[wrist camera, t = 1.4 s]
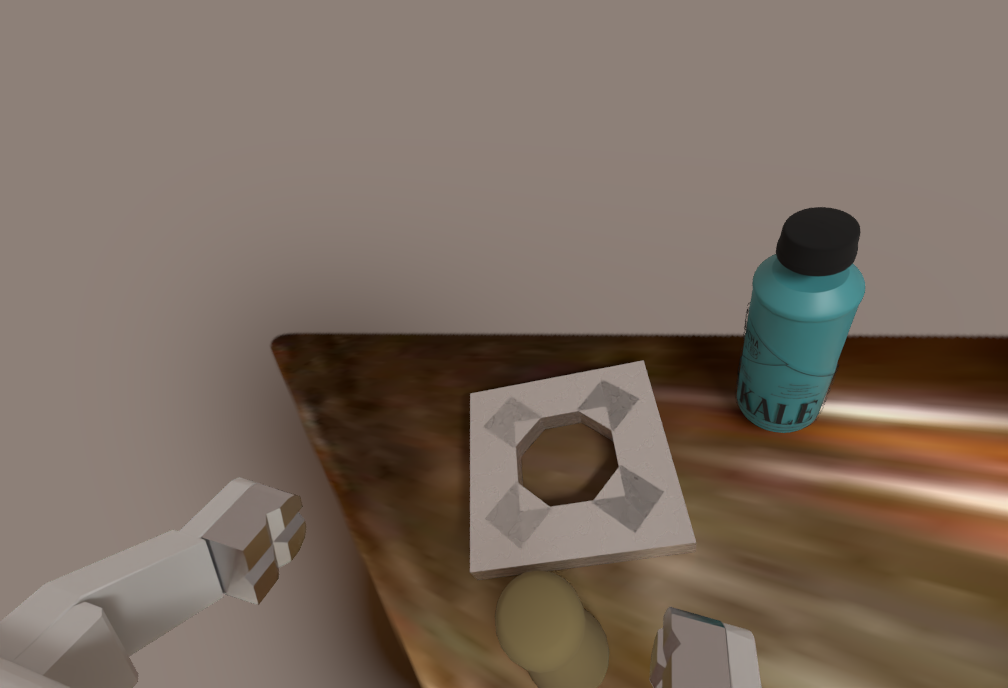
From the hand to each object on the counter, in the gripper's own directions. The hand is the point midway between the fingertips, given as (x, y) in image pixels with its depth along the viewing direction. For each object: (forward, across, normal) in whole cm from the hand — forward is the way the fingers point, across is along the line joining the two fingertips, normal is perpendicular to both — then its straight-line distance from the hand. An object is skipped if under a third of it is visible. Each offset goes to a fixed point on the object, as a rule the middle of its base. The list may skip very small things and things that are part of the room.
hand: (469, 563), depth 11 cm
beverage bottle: (+34, -17, +16) cm, 41 cm away
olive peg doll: (+15, -4, +28) cm, 31 cm away
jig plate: (+28, -1, +22) cm, 36 cm away
